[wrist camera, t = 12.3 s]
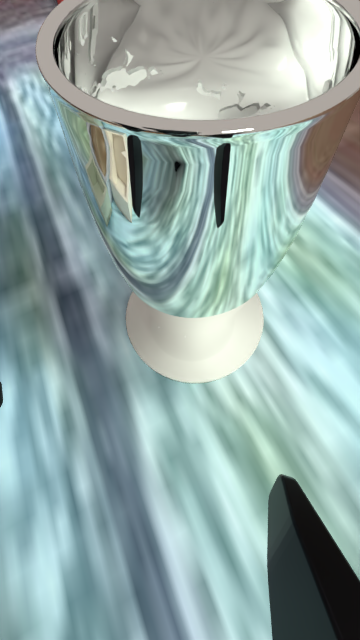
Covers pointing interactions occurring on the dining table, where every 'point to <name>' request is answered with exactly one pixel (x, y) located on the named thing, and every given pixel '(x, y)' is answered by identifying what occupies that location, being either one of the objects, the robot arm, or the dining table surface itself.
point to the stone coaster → (201, 371)
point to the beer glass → (200, 141)
